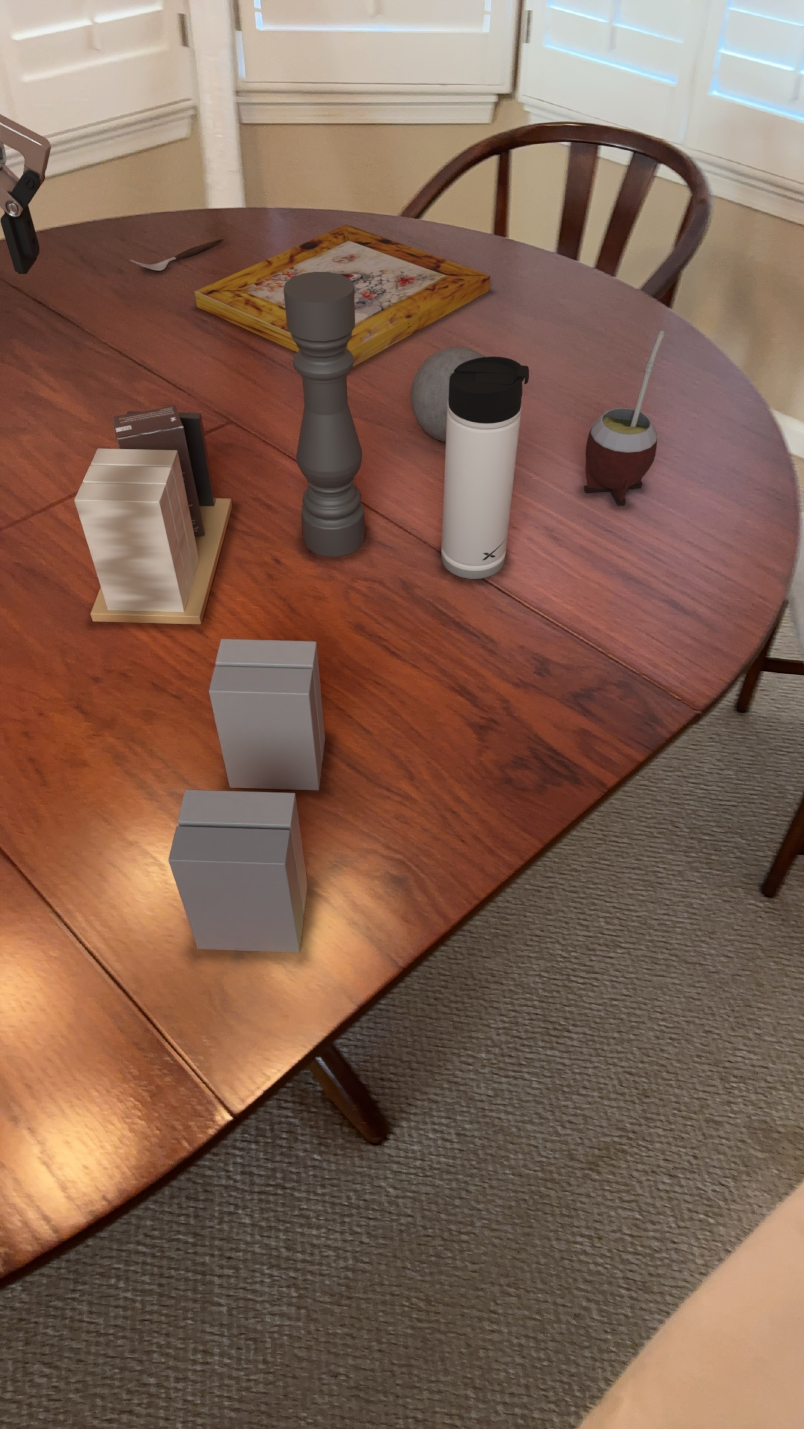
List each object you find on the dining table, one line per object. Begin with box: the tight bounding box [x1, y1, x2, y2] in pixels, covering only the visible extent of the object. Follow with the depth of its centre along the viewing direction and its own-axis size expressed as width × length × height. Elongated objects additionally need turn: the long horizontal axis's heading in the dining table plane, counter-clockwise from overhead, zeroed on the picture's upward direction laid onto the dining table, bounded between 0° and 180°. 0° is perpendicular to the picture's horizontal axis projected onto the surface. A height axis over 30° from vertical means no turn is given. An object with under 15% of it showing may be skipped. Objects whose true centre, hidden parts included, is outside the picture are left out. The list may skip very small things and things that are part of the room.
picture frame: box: [194, 224, 491, 367], centre depth 129 cm, size 27×2×30 cm
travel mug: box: [440, 355, 530, 580], centre depth 85 cm, size 6×7×20 cm
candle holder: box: [284, 272, 366, 558], centre depth 85 cm, size 6×6×25 cm
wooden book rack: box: [73, 410, 233, 625], centre depth 87 cm, size 10×18×13 cm, turn 178°
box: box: [111, 405, 205, 537], centre depth 89 cm, size 6×4×12 cm
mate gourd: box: [583, 330, 666, 507], centre depth 95 cm, size 8×8×15 cm
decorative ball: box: [409, 346, 485, 443], centre depth 103 cm, size 10×10×10 cm
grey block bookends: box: [167, 638, 326, 954], centre depth 66 cm, size 7×19×11 cm, turn 178°
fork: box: [129, 238, 224, 272], centre depth 138 cm, size 3×16×2 cm, turn 136°
